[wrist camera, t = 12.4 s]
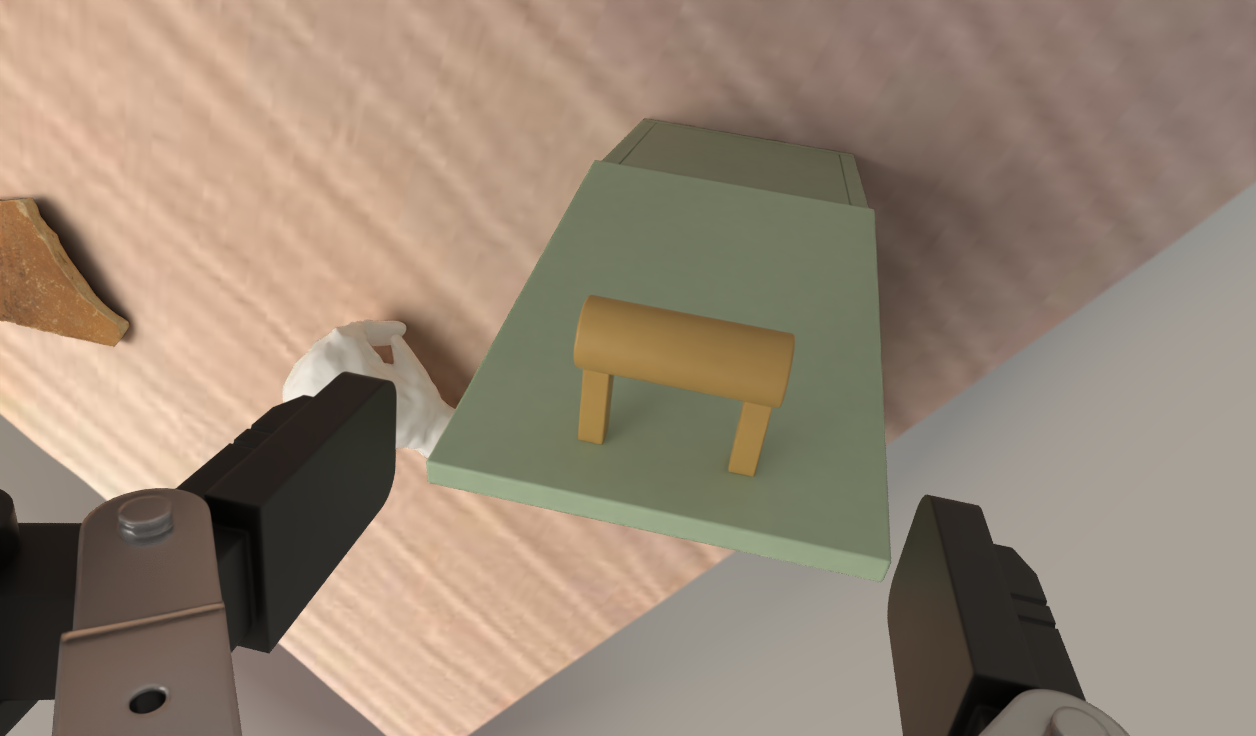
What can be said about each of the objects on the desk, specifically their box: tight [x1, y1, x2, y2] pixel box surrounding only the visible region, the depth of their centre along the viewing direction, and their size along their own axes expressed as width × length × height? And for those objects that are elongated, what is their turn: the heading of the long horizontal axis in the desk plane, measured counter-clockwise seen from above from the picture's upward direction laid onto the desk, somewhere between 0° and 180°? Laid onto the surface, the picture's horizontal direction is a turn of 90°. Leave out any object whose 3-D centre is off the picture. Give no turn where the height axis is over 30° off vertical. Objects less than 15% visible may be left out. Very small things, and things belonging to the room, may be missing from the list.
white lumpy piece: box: [283, 320, 455, 459], centre depth 54 cm, size 6×8×12 cm
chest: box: [602, 119, 869, 209], centre depth 46 cm, size 18×12×13 cm, turn 172°
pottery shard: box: [0, 198, 129, 347], centre depth 58 cm, size 10×9×2 cm
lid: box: [426, 160, 891, 582], centre depth 27 cm, size 18×12×5 cm
